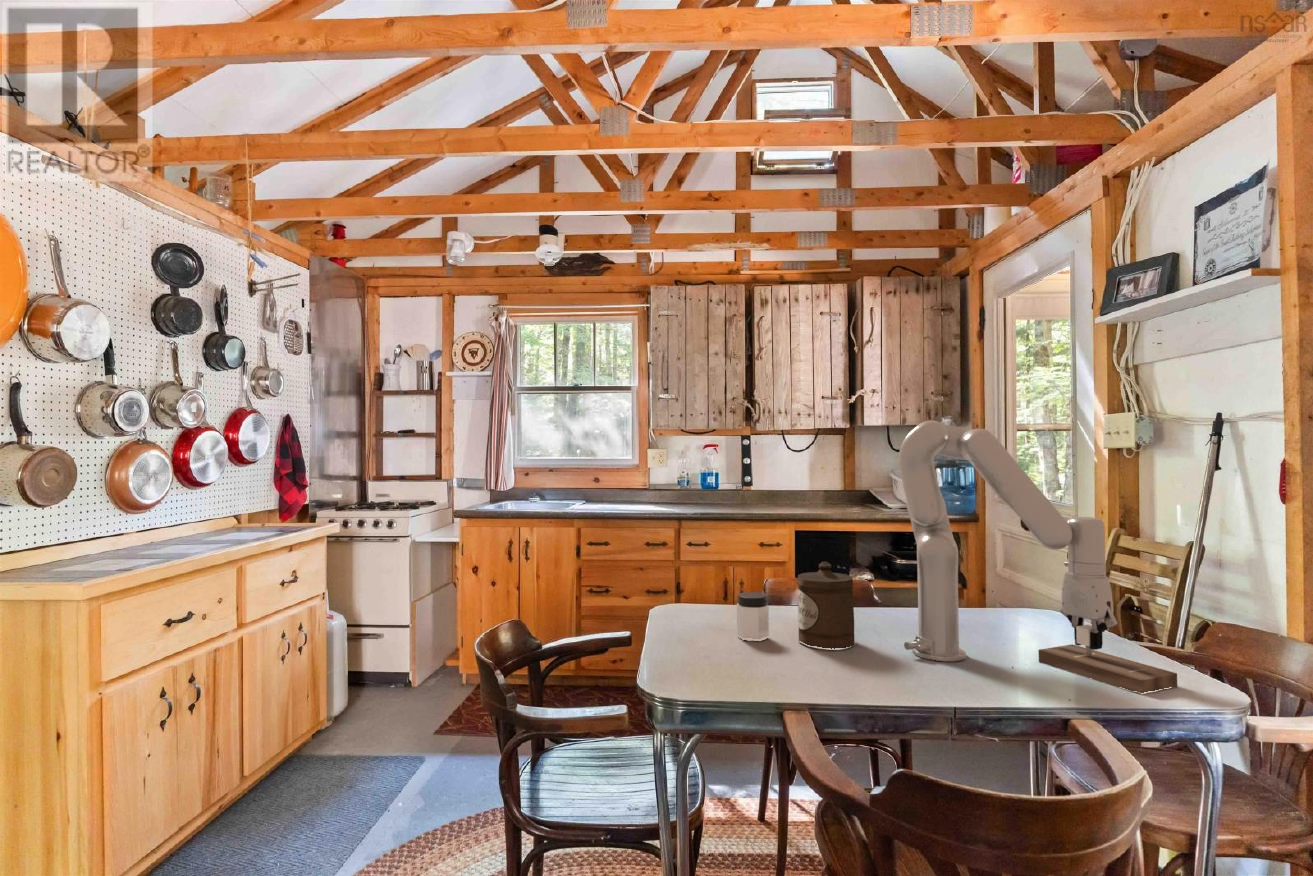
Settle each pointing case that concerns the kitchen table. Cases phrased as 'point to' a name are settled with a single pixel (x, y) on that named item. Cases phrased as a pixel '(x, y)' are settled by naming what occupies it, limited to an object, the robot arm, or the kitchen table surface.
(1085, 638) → the block
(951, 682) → the kitchen table surface
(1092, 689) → the kitchen table surface
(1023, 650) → the kitchen table surface
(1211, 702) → the kitchen table surface
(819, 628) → the wooden container
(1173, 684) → the control board
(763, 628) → the jar
